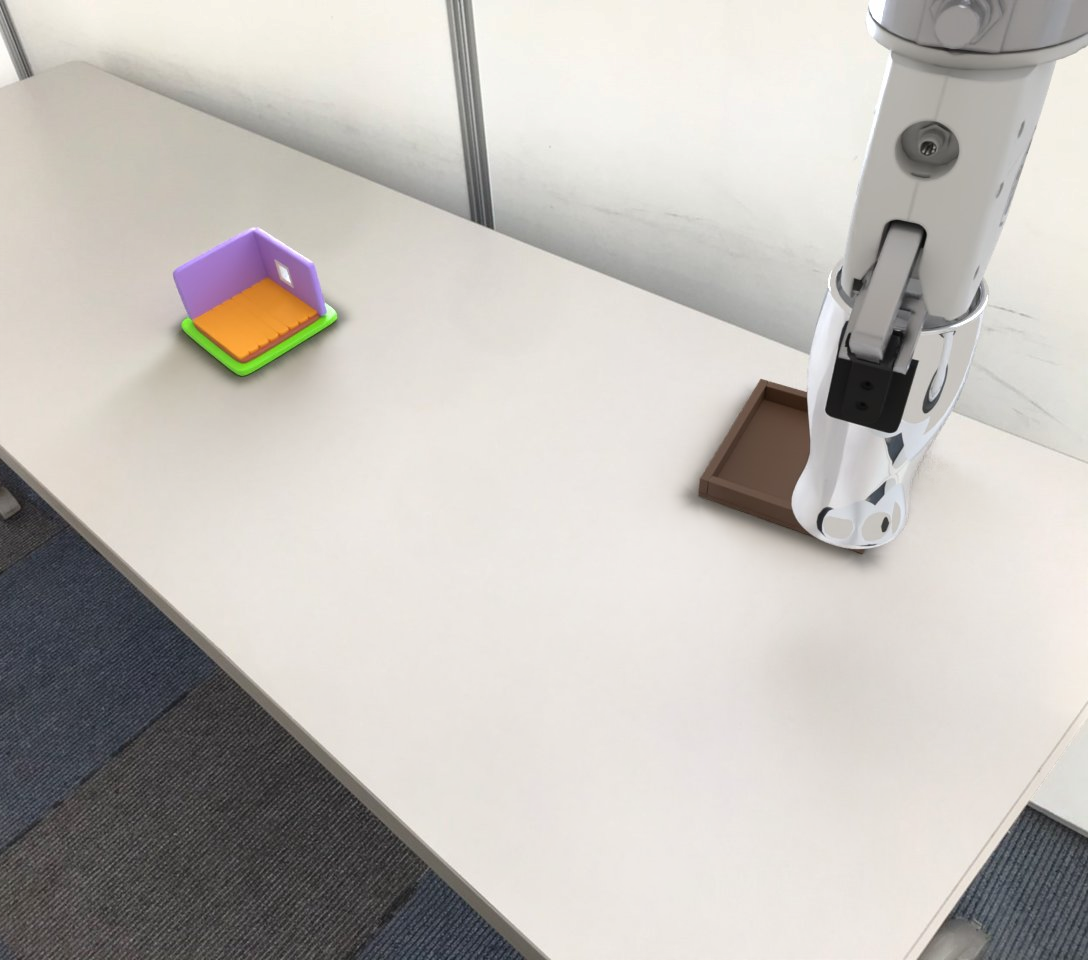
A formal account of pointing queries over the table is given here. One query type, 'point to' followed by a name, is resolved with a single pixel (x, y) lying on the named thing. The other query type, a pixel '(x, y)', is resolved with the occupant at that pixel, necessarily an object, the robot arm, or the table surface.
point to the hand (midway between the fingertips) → (886, 367)
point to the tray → (762, 456)
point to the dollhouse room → (251, 300)
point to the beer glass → (867, 454)
